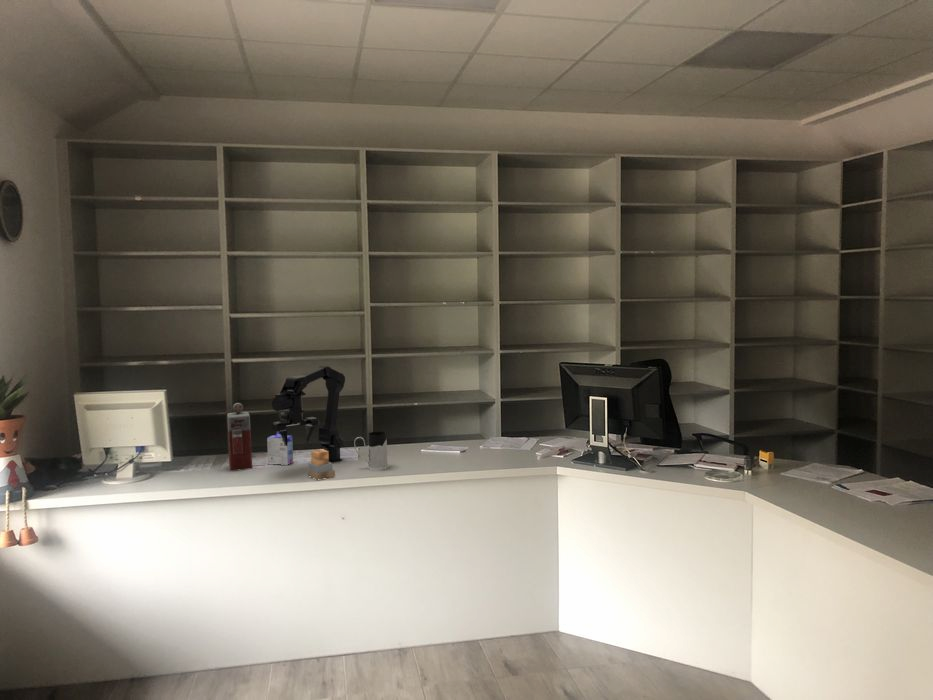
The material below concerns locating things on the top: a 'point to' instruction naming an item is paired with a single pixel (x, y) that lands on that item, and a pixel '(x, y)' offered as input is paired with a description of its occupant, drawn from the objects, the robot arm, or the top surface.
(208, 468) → the top surface
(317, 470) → the tower top
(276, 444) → the ink cartridge box
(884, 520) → the top surface
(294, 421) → the robot arm
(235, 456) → the red and grey bottle
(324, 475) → the tower base
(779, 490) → the top surface
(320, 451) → the orange cube
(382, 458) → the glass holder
